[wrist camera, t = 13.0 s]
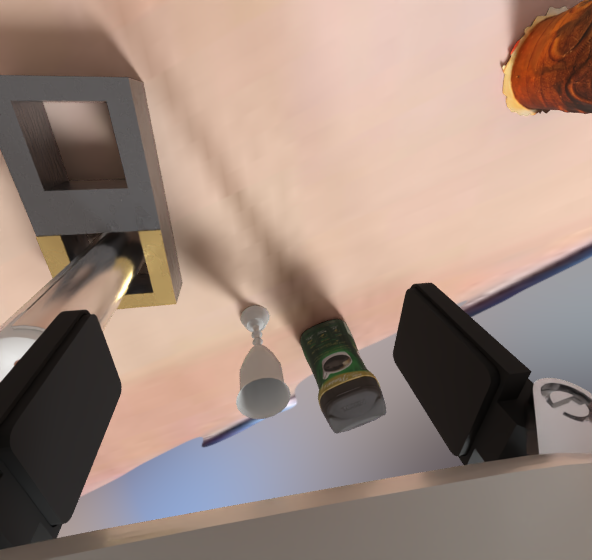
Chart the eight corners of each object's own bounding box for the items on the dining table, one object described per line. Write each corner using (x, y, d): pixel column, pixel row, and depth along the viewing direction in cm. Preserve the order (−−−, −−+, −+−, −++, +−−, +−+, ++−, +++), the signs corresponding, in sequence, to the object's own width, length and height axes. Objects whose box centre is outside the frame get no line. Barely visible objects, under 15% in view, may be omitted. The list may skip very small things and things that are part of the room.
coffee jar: (308, 359, 62) (333, 447, 46) (294, 330, 58) (318, 415, 42) (353, 341, 62) (395, 423, 46) (343, 311, 58) (385, 388, 42)
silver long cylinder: (103, 265, 46) (-13, 401, 24) (97, 223, 43) (-41, 333, 21) (150, 268, 47) (80, 398, 26) (147, 227, 45) (66, 334, 23)
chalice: (268, 336, 57) (282, 420, 42) (231, 332, 56) (231, 417, 40) (278, 303, 54) (297, 379, 39) (240, 297, 53) (242, 375, 37)
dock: (9, 80, 35) (-32, 74, 29) (143, 82, 37) (127, 77, 31) (86, 290, 47) (67, 313, 42) (182, 283, 50) (176, 303, 44)
